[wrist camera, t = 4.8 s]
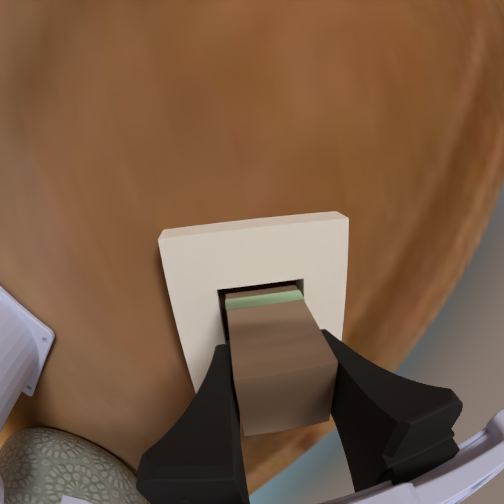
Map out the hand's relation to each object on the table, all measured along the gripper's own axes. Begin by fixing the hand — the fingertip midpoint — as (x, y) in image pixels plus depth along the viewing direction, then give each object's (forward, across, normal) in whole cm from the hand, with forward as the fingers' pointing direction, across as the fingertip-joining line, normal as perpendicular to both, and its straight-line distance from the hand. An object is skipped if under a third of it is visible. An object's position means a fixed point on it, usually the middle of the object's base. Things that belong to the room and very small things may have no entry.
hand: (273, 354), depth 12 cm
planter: (+5, +20, +18) cm, 27 cm away
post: (+3, 0, 0) cm, 3 cm away
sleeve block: (+4, 0, 0) cm, 4 cm away
